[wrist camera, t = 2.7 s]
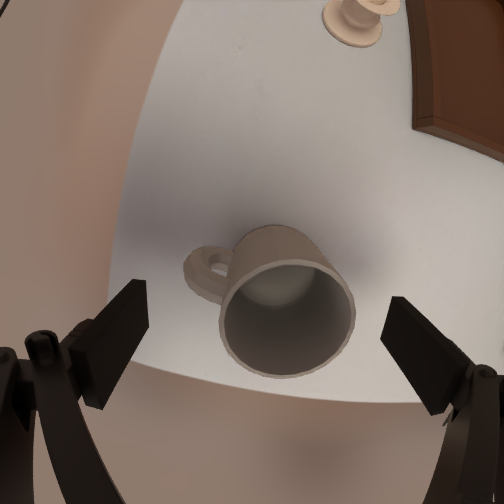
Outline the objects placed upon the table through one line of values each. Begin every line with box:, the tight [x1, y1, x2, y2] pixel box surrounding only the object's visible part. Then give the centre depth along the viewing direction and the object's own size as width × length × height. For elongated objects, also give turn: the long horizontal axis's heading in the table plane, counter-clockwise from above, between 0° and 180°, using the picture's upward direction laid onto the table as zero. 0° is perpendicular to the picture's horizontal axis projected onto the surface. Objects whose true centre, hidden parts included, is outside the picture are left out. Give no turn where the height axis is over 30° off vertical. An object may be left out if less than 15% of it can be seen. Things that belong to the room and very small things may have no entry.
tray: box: [406, 0, 504, 163], centre depth 16 cm, size 24×17×3 cm
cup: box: [183, 225, 356, 379], centre depth 19 cm, size 7×10×9 cm
